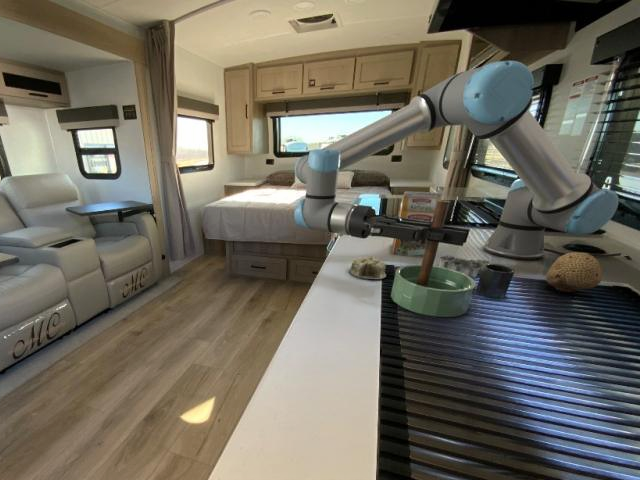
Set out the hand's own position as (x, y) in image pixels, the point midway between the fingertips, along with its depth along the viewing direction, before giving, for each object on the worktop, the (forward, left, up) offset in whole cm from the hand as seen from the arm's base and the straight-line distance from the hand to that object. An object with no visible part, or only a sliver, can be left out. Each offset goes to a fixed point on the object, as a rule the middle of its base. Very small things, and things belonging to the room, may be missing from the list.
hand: (465, 237), depth 66 cm
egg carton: (-13, -25, -16) cm, 33 cm away
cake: (+13, -20, -16) cm, 29 cm away
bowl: (+3, -3, -16) cm, 17 cm away
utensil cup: (-13, -9, -16) cm, 23 cm away
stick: (+5, -3, -13) cm, 15 cm away
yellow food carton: (-5, -43, -16) cm, 46 cm away
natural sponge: (-32, -13, -16) cm, 39 cm away
